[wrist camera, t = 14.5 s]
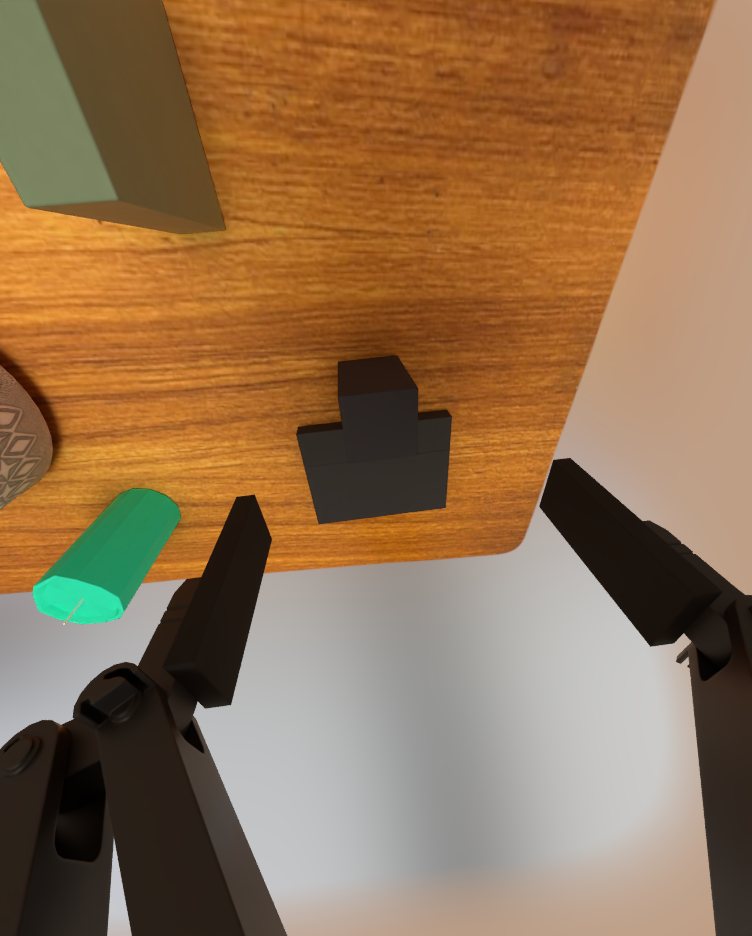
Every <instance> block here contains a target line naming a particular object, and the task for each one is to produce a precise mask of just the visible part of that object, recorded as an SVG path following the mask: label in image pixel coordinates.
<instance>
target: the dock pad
mask: <svg viewBox="0 0 752 936" xmlns="http://www.w3.org/2000/svg"><path fill="white" fill-rule="evenodd" d="M451 421H452V416H451V415H450V414H449V412H448V411H447V410H444V411H435V412H427V413H418V455H417V456H410V457H402V458H394V459H385V460H377V461H369V462H361V463H353V464H348V460H347V453H346V446H345V440H344V433H343V427H342V422H339V423H330V424H321V425H313V426H304V427H298V430H297V434H296V435H297V439H298V443H299V447H300V451H301V455H302V459H303V463H304V467H305V471H306V475H307V479H308V483H309V487H310V491H311V495H312V499H313V503H314V507H315V511H316V515H317V519H318V523H319V524H324V523H332V522H340V521H347V520H355V519H363V518H371V517H378V516H386V515H394V514H402V513H409V512H417V511H425V510H433V509H441V508H446V495H447V480H448V466H449V451H450V450H449V449H450V436H451Z"/></svg>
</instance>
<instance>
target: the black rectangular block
mask: <svg viewBox="0 0 752 936" xmlns="http://www.w3.org/2000/svg"><path fill="white" fill-rule="evenodd" d="M338 401H339V407H340V414H341V420H342V427H343V433H344V440H345V446H346V453H347V460H348V464H353V463H361V462H369V461H377V460H385V459H394V458H402V457H410V456H417V455H418V388H417V386H416V384H415V383H414V381H413V380H412V378H411V377H410V375H409V373H408V372H407V370H406V369H405V367H404V366H403V364H402V363H401V361H400V359H399V358H398V356H388V357H379V358H369V359H360V360H351V361H341V362H338Z"/></svg>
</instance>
